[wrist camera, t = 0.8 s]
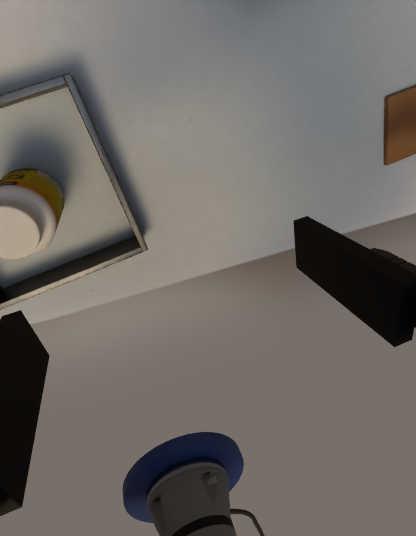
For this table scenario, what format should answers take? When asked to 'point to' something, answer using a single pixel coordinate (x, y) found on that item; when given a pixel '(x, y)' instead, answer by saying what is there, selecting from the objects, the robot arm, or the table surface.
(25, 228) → the supplement bottle
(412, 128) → the coaster
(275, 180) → the table surface
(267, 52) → the table surface
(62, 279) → the dark grey square frame
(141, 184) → the table surface
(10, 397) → the robot arm
